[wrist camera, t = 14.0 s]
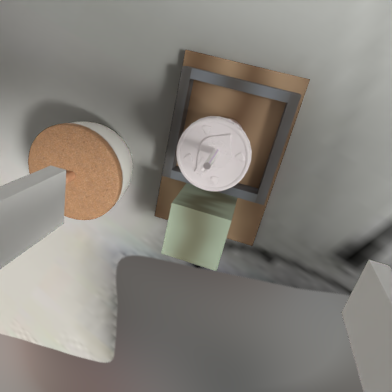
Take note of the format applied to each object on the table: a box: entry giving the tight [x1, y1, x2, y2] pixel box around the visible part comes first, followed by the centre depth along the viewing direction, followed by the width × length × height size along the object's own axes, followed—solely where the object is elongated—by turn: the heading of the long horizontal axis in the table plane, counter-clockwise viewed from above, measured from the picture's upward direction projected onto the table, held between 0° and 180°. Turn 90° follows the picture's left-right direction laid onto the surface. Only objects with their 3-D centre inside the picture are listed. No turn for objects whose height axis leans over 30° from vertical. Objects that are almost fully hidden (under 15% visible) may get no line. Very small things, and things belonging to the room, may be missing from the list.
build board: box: [155, 50, 310, 271], centre depth 33 cm, size 13×20×9 cm, turn 167°
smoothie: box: [176, 116, 252, 191], centre depth 29 cm, size 6×6×14 cm
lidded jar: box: [28, 122, 133, 220], centre depth 37 cm, size 11×11×9 cm
